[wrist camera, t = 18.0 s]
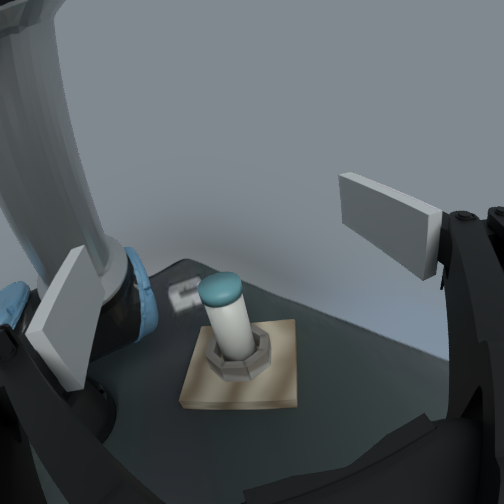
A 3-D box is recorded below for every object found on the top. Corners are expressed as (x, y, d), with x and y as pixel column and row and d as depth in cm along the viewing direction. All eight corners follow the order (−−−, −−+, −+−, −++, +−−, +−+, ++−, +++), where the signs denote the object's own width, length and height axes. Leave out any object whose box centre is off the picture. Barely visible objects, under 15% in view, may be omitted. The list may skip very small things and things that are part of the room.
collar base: (183, 408, 40) (171, 388, 37) (204, 334, 53) (196, 313, 51) (297, 407, 37) (294, 385, 35) (295, 327, 51) (292, 304, 49)
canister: (221, 372, 42) (192, 298, 36) (226, 347, 47) (202, 274, 41) (258, 371, 41) (237, 294, 35) (260, 344, 46) (242, 269, 40)
